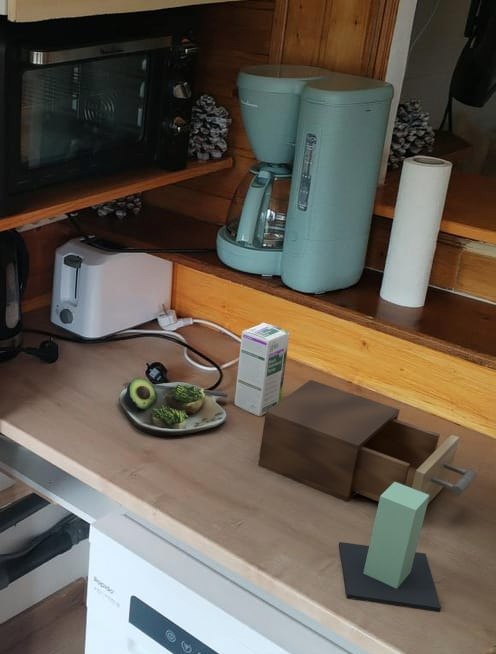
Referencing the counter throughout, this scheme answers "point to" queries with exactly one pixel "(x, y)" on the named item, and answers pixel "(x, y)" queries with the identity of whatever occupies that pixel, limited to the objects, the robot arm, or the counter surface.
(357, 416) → the cabinet
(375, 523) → the block
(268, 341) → the syrup box
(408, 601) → the slate mat
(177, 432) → the avocado toast plate
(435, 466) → the drawer
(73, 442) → the counter surface
